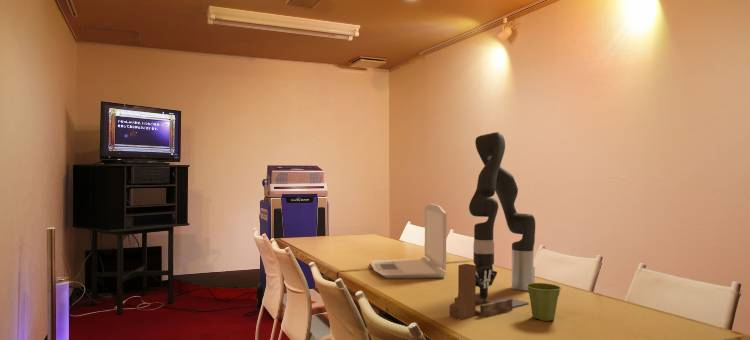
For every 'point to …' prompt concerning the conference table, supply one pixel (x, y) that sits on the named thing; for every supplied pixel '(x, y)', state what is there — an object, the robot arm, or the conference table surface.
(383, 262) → the laptop
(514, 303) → the pad
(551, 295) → the plant pot
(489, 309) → the wooden frame
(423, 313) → the conference table surface
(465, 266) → the wooden block
